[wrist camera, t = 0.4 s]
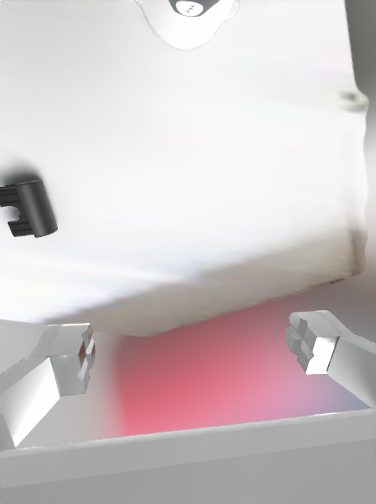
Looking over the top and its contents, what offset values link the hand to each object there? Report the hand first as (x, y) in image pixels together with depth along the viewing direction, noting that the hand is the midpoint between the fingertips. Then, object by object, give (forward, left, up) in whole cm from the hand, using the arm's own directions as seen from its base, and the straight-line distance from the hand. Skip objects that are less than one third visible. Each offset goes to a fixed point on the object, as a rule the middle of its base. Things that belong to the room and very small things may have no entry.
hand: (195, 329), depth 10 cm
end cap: (+7, -25, -47) cm, 53 cm away
